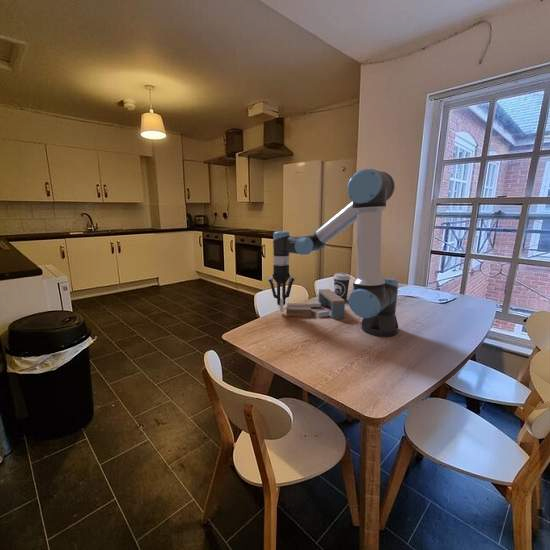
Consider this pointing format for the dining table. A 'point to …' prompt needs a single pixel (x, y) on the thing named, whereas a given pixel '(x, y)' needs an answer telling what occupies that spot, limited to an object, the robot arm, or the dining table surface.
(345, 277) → the coffee cup
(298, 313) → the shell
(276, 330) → the dining table surface
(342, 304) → the bridge shelf
